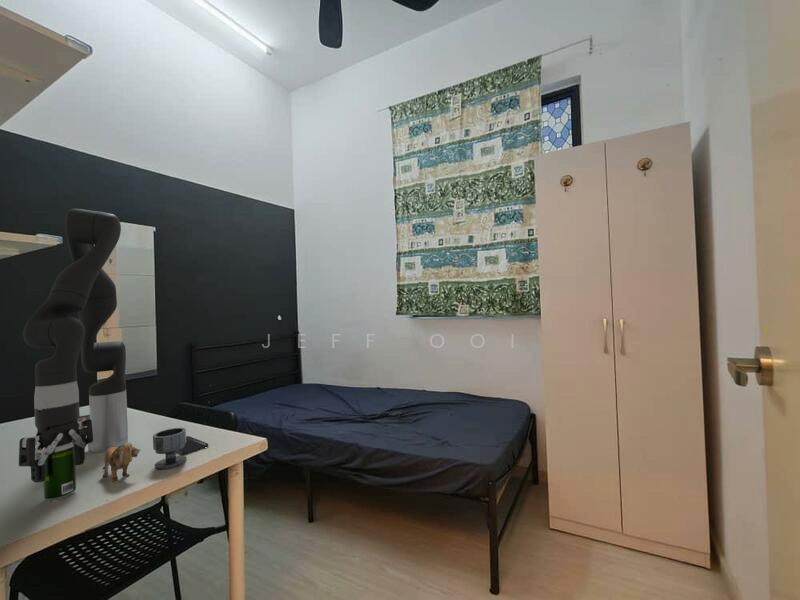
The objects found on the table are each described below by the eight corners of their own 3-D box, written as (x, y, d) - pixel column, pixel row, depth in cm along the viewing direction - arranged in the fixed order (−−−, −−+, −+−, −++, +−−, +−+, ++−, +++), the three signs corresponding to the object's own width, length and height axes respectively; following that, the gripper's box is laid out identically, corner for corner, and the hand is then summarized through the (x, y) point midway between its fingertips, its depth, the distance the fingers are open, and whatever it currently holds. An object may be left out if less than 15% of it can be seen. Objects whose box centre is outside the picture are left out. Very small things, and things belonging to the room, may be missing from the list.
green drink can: (82, 490, 86) (80, 439, 86) (58, 502, 80) (56, 448, 80) (62, 489, 86) (60, 439, 86) (37, 502, 81) (35, 448, 81)
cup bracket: (147, 469, 95) (146, 437, 95) (168, 457, 103) (167, 427, 103) (173, 469, 94) (171, 437, 94) (192, 457, 102) (191, 427, 102)
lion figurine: (143, 476, 91) (142, 440, 92) (119, 486, 87) (118, 448, 87) (114, 466, 98) (113, 433, 99) (90, 475, 94) (89, 440, 94)
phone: (187, 435, 119) (209, 444, 110) (187, 439, 119) (209, 447, 110) (160, 443, 112) (181, 453, 103) (160, 447, 112) (182, 457, 103)
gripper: (74, 395, 91) (76, 459, 91) (6, 412, 77) (9, 488, 77) (100, 394, 90) (103, 459, 90) (37, 411, 76) (39, 488, 76)
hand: (59, 472), depth 83 cm, fingers open, 8 cm apart
